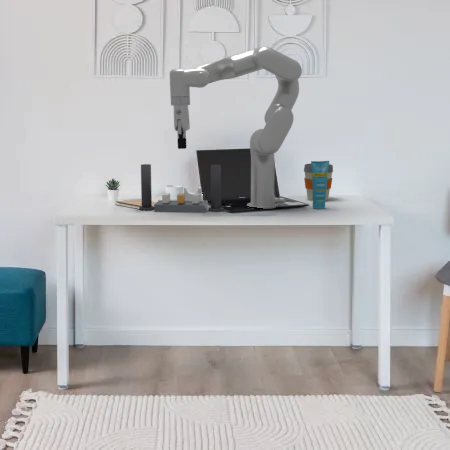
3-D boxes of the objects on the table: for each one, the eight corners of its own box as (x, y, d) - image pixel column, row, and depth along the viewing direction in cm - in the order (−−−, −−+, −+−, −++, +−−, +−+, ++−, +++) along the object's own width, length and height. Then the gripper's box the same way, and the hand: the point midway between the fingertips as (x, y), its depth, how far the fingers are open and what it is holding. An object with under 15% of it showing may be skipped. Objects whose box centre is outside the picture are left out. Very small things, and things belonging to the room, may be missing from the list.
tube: (312, 209, 309) (313, 161, 305) (308, 207, 314) (309, 160, 310) (329, 208, 311) (331, 161, 307) (325, 206, 315) (326, 159, 312)
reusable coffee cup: (299, 200, 331) (300, 165, 328) (308, 196, 343) (308, 162, 340) (328, 202, 326) (328, 167, 324) (335, 198, 338) (336, 164, 335)
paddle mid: (185, 201, 310) (184, 193, 309) (183, 203, 305) (183, 195, 305) (179, 201, 310) (179, 193, 310) (177, 203, 305) (177, 195, 305)
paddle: (199, 201, 309) (199, 193, 309) (198, 203, 305) (198, 195, 304) (193, 201, 310) (193, 193, 309) (192, 203, 305) (192, 195, 304)
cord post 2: (224, 209, 310) (224, 164, 306) (222, 211, 304) (222, 166, 300) (209, 209, 310) (209, 164, 307) (207, 211, 304) (207, 166, 301)
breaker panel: (207, 208, 312) (207, 200, 312) (204, 212, 302) (204, 204, 302) (158, 207, 314) (158, 199, 314) (154, 211, 304) (154, 203, 304)
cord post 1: (155, 208, 312) (154, 164, 309) (152, 210, 306) (151, 165, 303) (140, 208, 313) (139, 163, 309) (137, 210, 307) (136, 165, 304)
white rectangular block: (170, 201, 311) (170, 193, 310) (168, 203, 306) (168, 195, 305) (164, 201, 311) (164, 193, 310) (162, 203, 306) (162, 195, 305)
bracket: (201, 206, 319) (200, 188, 318) (183, 205, 320) (183, 187, 318) (204, 201, 332) (203, 183, 330) (187, 201, 332) (187, 183, 331)
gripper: (187, 101, 293) (188, 150, 296) (192, 100, 307) (194, 146, 311) (167, 102, 293) (169, 150, 297) (173, 100, 308) (175, 146, 311)
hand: (182, 148), depth 304 cm, fingers closed
